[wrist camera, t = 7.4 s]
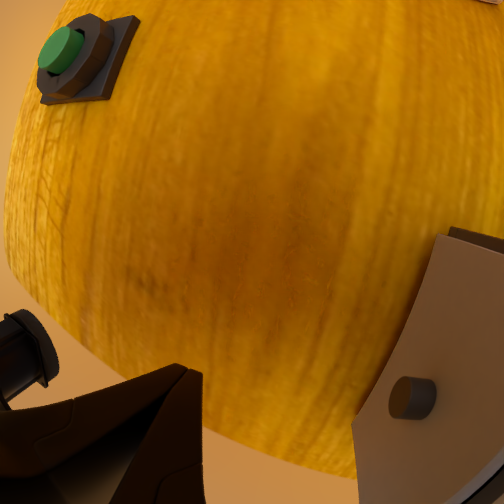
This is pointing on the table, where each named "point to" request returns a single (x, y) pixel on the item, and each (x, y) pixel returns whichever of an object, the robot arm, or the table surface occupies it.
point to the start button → (60, 50)
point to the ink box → (493, 1)
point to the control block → (90, 61)
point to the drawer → (440, 388)
